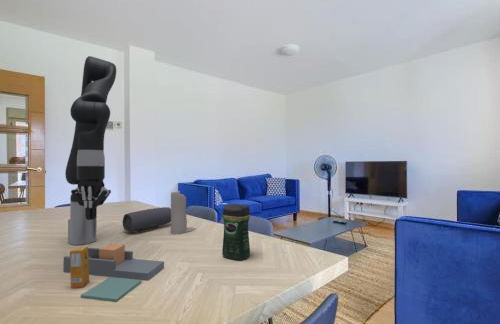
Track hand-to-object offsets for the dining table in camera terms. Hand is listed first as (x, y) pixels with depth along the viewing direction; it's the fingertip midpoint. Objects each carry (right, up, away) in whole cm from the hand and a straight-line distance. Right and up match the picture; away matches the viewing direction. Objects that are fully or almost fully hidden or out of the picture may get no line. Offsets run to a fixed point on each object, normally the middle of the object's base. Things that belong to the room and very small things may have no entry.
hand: (90, 219), depth 82 cm
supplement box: (+4, -15, -12) cm, 20 cm away
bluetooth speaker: (0, -16, +47) cm, 49 cm away
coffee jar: (+45, -16, +11) cm, 49 cm away
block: (+8, -13, -2) cm, 15 cm away
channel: (+8, -15, -2) cm, 17 cm away
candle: (+18, -16, +44) cm, 50 cm away
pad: (+14, -15, -14) cm, 25 cm away
